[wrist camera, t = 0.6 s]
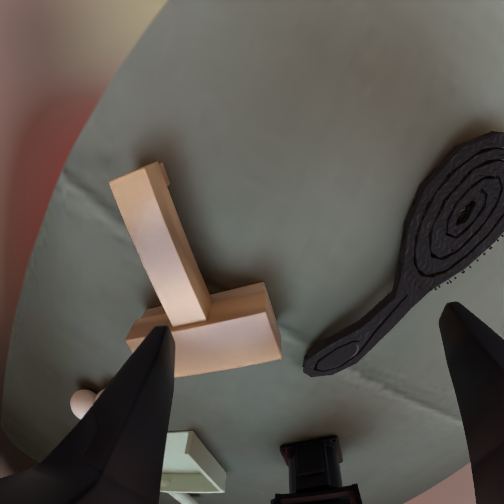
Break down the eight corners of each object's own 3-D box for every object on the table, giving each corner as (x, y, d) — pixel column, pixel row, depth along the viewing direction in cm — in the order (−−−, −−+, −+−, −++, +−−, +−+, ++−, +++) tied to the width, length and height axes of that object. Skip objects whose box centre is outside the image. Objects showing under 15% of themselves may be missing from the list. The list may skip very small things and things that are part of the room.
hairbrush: (267, 371, 23) (513, 106, 13) (268, 339, 26) (483, 102, 17) (343, 409, 25) (559, 194, 15) (338, 379, 28) (532, 180, 18)
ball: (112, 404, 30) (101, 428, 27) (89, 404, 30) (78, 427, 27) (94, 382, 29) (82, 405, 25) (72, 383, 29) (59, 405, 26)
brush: (280, 322, 24) (282, 359, 21) (163, 346, 26) (150, 380, 22) (220, 138, 19) (209, 143, 15) (89, 189, 21) (57, 205, 17)
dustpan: (79, 430, 33) (71, 448, 30) (192, 430, 31) (188, 453, 28) (150, 495, 40) (146, 510, 38) (247, 496, 38) (246, 514, 35)
